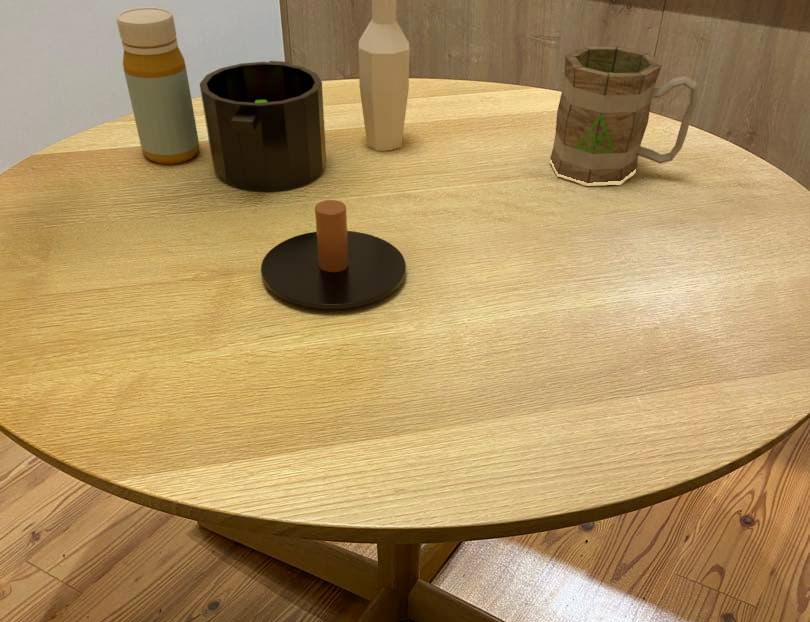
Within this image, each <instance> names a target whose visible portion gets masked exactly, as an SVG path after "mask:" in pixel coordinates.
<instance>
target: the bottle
mask: <svg viewBox="0 0 810 622" xmlns="http://www.w3.org/2000/svg"><path fill="white" fill-rule="evenodd" d="M116 24H117V28H118V33H119V37H120V40H121V45H122V49H123V55H122V67H123V72H124V77H125V82H126V86H127V90H128V94H129V99H130V103H131V104H130V105H131V108H132V113H133V117H134V121H135V125H136V130H137V135H138V139H139V143H140V147H141V152H142V154H143V155H144V156H145V157H146V158H148V159H149V160H150V161H152V162H153V161H154V163H157V164H164V165H174V163H175V164H180V163H184V162H187V160H188V161H189V159H190V160H191V159H193V158H194V157H195V156H196V155H197V153H198V152H199V150H200V141H199V140H200V139H199V135H198V130H197V123H196V117H195V111H194V106H193V100H192V95H191V89H190V82H189V76H188V72H187V66H186V61H185V57H184V55H183V54H182V52H181V50H180V48H179V44H178V38H177V31H176V30H177V29H176V24H175V19H174V14H173V12H172V11H170V10H169V9H166V8H162V7H153V6H145V7H133V8H129V9H125V10H122V11H121V12H119V13H118V14H117V15H116Z"/></svg>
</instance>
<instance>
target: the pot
mask: <svg viewBox="0 0 810 622" xmlns="http://www.w3.org/2000/svg"><path fill="white" fill-rule="evenodd" d="M199 88H200V96H201V101H202V107H203V114H204V121H205V125H206V132H207V137H208V144H209V151H210V156H211V163H212V166H213V172H214V174H215V176H216V178H217V179H218V180H219V181H220V182H221V183H224V184H225V185H227V186H229V187H232V188H235V189H238V190H242V191H249V192H257V193H258V192H259V193H260V192H261V193H273V192H274V193H275V192H276V193H277V192H283V191H291V190H295V189H298V188H301V187H304V186H307V185H309V184H311V183H313V182H315V181H317V180H318V179H319V178H321V176H322V175H323V174H324V173H325V171H326V166H327V165H326V163H327V148H326V131H325V114H324V113H325V112H324V96H323V95H324V94H323V81H322V80H321V78H320V76H319V75H318V73H316V72H315V71H313V70H310V69H309V68H307V67H304V66H302V65H296V64H292V63H290V62H289V61H279V60H269V61H255V62H254V61H253V62H243V63H238V64H233V65H229V66H225V67H224V66H223V67H221V68H218V69H216V70H214V71H212V72H209V73H208V74H206V75H205V76H204V78H203V79H202V80H201V81H200V83H199ZM255 100H267V102H264V103H255Z"/></svg>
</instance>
